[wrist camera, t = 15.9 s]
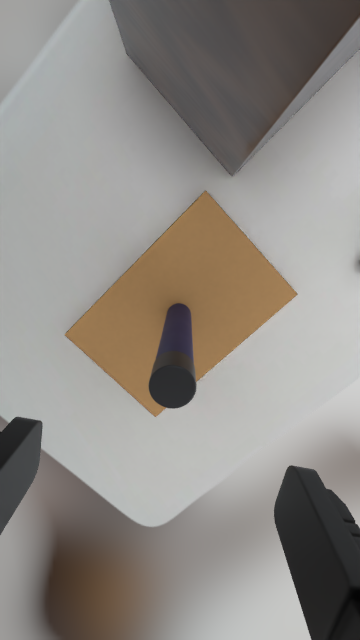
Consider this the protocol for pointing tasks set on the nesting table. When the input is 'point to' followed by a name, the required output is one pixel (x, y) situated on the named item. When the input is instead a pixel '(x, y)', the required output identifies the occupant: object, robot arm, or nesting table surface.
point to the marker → (174, 361)
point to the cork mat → (182, 299)
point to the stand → (238, 61)
